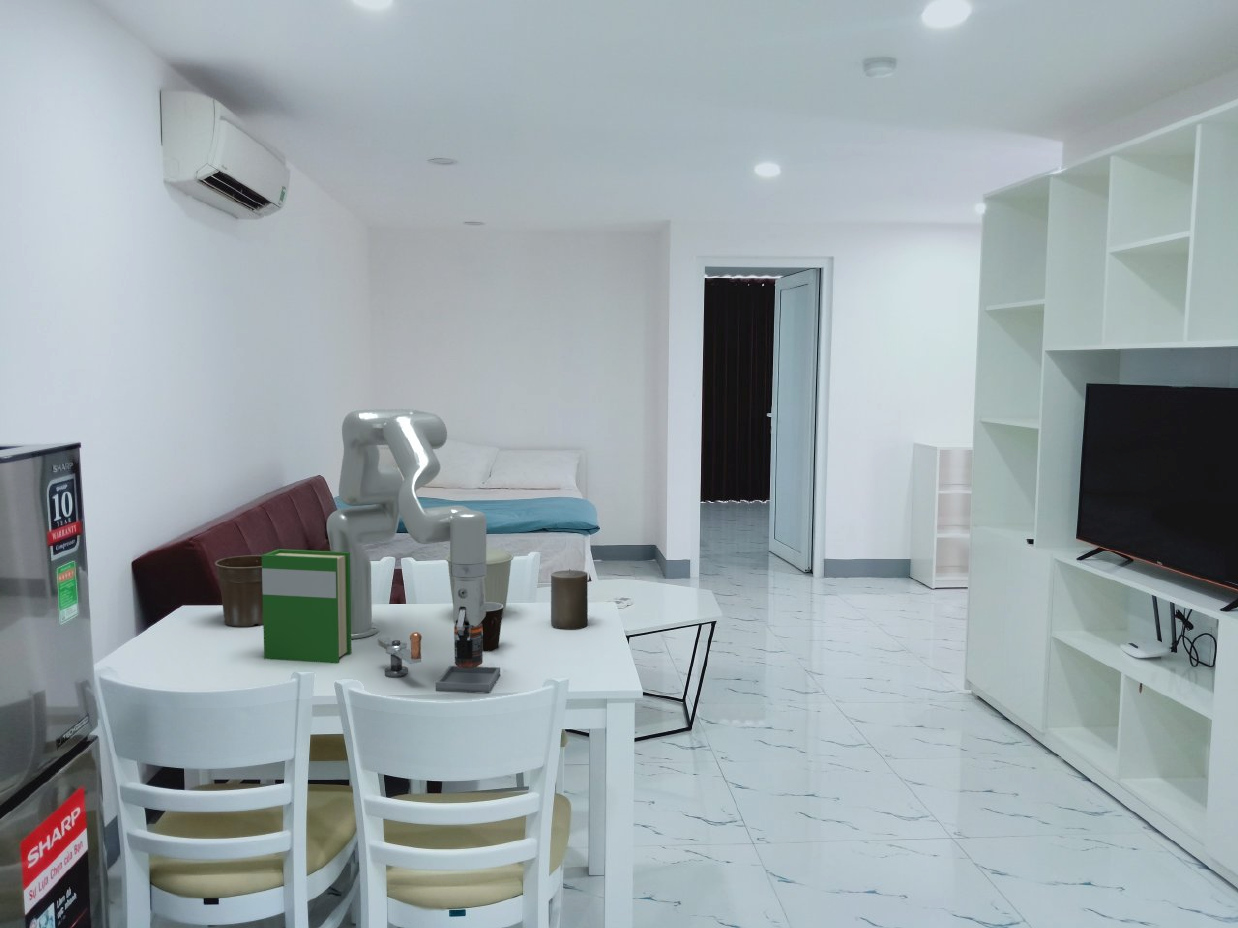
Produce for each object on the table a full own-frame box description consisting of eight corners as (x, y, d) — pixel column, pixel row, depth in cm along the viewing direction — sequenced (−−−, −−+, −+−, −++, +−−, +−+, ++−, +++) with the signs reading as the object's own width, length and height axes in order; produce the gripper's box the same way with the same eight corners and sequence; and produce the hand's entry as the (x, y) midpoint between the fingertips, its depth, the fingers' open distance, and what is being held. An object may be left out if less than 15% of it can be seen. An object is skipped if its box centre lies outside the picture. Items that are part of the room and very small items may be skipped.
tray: (435, 690, 192) (435, 682, 192) (449, 673, 203) (449, 665, 203) (489, 692, 191) (489, 684, 191) (500, 675, 202) (500, 667, 202)
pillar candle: (593, 627, 241) (594, 570, 240) (558, 631, 237) (559, 573, 236) (578, 618, 250) (579, 563, 249) (544, 622, 246) (545, 566, 245)
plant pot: (291, 613, 252) (290, 554, 250) (271, 629, 235) (269, 567, 234) (231, 613, 251) (229, 554, 249) (206, 629, 235) (204, 566, 233)
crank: (373, 645, 206) (373, 616, 206) (392, 642, 209) (392, 613, 208) (408, 666, 192) (408, 635, 191) (428, 662, 195) (428, 632, 194)
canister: (515, 608, 260) (516, 533, 258) (510, 625, 242) (510, 546, 240) (450, 608, 259) (450, 533, 257) (440, 625, 241) (440, 545, 239)
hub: (381, 677, 200) (381, 656, 200) (389, 669, 205) (388, 649, 205) (404, 678, 200) (403, 657, 199) (411, 670, 205) (411, 650, 204)
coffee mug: (468, 642, 227) (468, 602, 226) (503, 642, 227) (503, 602, 226) (464, 657, 215) (464, 614, 214) (501, 656, 216) (502, 614, 215)
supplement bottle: (487, 661, 199) (487, 610, 198) (474, 670, 193) (474, 617, 192) (463, 658, 201) (462, 607, 200) (449, 667, 195) (448, 614, 194)
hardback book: (351, 653, 217) (349, 552, 214) (337, 663, 209) (335, 558, 207) (280, 649, 219) (278, 549, 217) (264, 658, 212) (261, 555, 210)
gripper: (476, 579, 186) (476, 666, 188) (494, 562, 203) (494, 642, 205) (439, 578, 187) (440, 665, 188) (460, 561, 204) (461, 641, 206)
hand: (468, 652), depth 197 cm, fingers closed on supplement bottle, 6 cm apart
